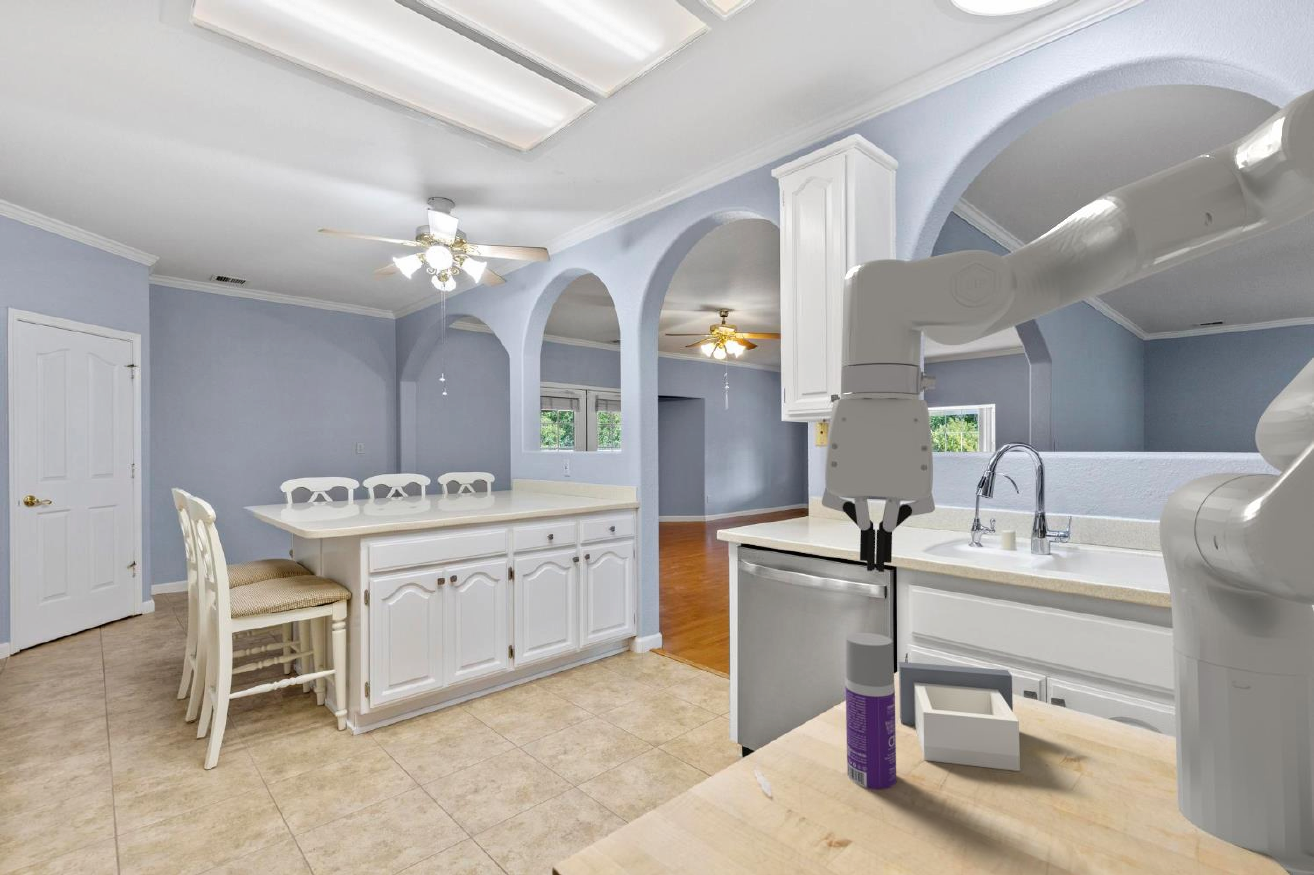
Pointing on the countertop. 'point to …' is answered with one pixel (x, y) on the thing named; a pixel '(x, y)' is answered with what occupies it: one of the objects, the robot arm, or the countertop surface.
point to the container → (870, 711)
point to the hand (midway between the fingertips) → (875, 568)
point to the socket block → (966, 726)
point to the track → (948, 682)
